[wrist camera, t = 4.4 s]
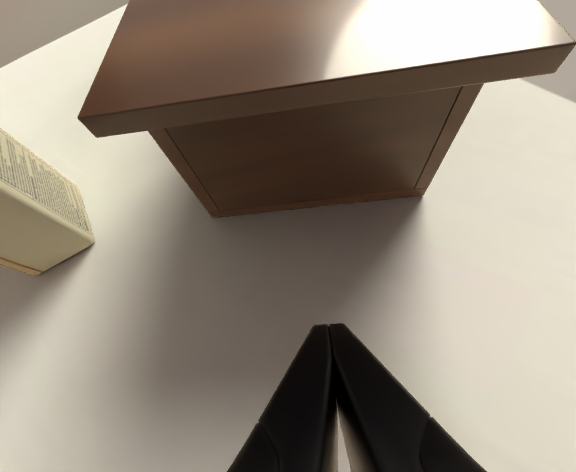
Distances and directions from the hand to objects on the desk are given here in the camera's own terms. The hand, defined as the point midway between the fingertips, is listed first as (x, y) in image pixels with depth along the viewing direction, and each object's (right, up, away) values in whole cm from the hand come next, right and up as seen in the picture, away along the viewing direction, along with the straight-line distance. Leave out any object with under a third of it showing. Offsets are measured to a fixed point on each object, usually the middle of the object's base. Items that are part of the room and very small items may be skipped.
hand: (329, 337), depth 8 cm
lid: (-1, +12, +3) cm, 12 cm away
